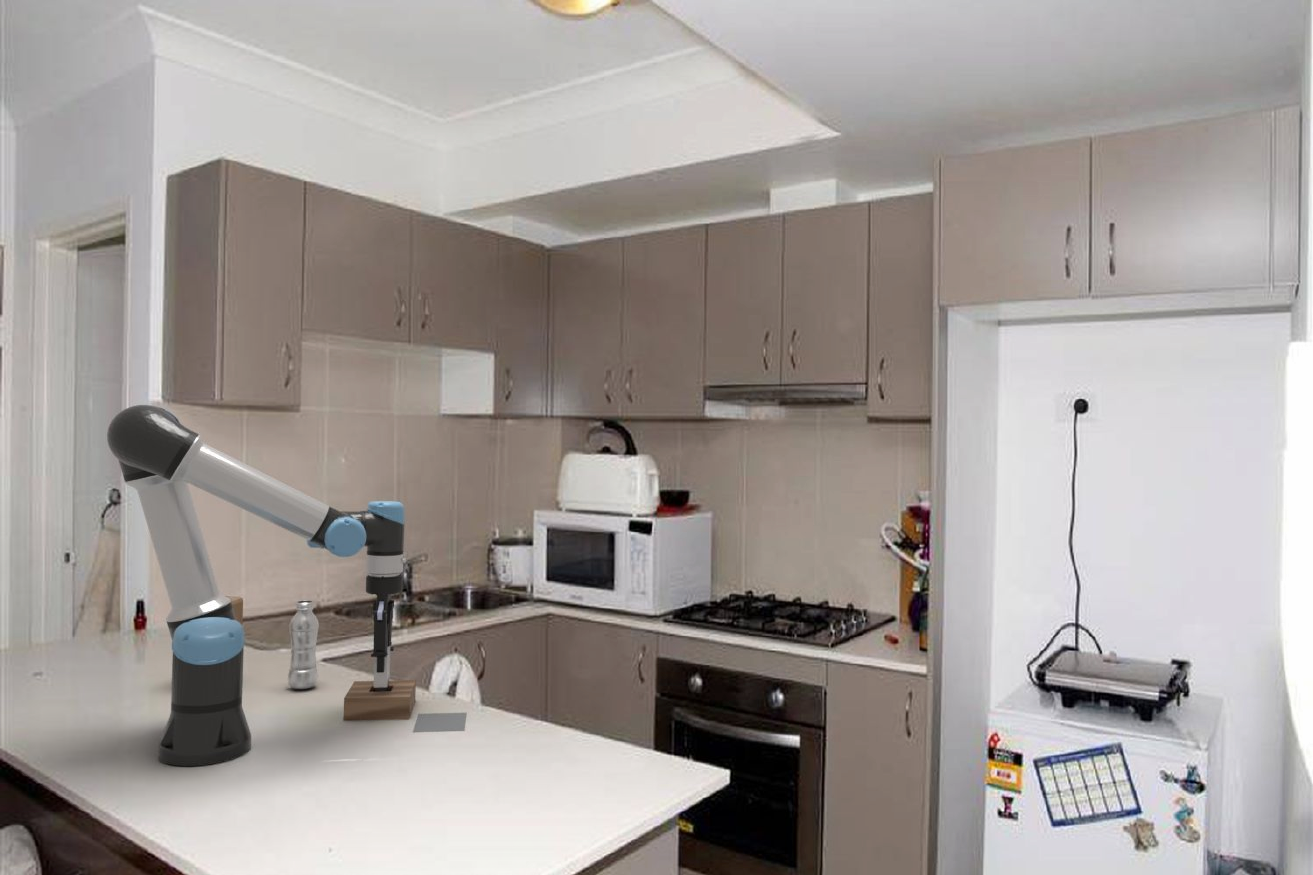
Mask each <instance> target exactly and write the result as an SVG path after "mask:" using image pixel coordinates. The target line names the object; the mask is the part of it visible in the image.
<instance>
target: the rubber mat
mask: <svg viewBox="0 0 1313 875" xmlns="http://www.w3.org/2000/svg"><path fill="white" fill-rule="evenodd" d="M467 713H468V712H441V713H439V712H438V713H437V712H435V713H418V714H417V717H416V720H415V724H414V726H413V729H412V733H433V732H435V733H439V732H441V733H442V732H465V728H466V720H467V715H468V714H467Z"/></svg>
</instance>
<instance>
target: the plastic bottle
mask: <svg viewBox="0 0 1313 875" xmlns="http://www.w3.org/2000/svg"><path fill="white" fill-rule="evenodd" d="M313 610H314V600H311V599H309V600H307V599H306V600H305V599H303V600H297V601H296V607H295V611H296V613H295V614H294V616H293V617H292V618H291V620H290V623H289V627H288V628H289V635H290V636H289V637H290V648H291V650H290V654H291V655H290V662H289V664H290V665H289V669H288V674H287V684H288V685H289V687H290V688H291V689H294V690H305V689H312V688H313V687H315V686H316V684H317V682H318V679H319V672H318V667H317V660H316V659H317V656H316V649H317V648H316V647H317V639H318V633H319V627H320V626H319V625H320V622H319V619H318V618H317V617H316V615H315V614H314V612H313Z"/></svg>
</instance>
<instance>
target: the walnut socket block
mask: <svg viewBox="0 0 1313 875" xmlns="http://www.w3.org/2000/svg"><path fill="white" fill-rule="evenodd" d="M416 684H417V680H416V679H408V680H406V679H404V680H402V679H399V680H389V691H386V692H374V680H354V681H353V683H352V684H351V686H350V688H349V689H348V690H347V693H346V694H345V696H344V697H343V721H344V722H347V721H348V722H349V721H350V722H351V721H352V722H353V721H355V722H357V721H390V720H391V721H393V720H398V721H399V720H410V718H411V715H412V712H413V709H414V706H415V703H416V686H417V685H416Z"/></svg>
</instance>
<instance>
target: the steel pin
mask: <svg viewBox="0 0 1313 875" xmlns="http://www.w3.org/2000/svg"><path fill="white" fill-rule="evenodd" d="M390 647H391V646H388V647H387V653H388V655H387V656H388V682H387V687H378V688H374V692H386V691H389V681H390V673H391V672H390V671H391V670H390V669H391V667H390V666H391V651H390Z"/></svg>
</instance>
